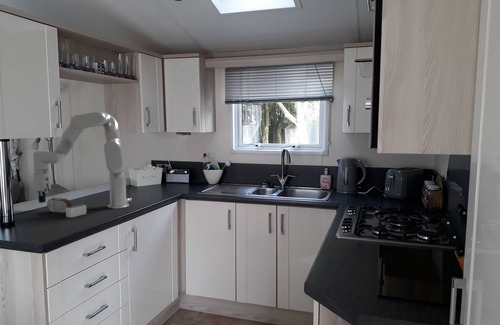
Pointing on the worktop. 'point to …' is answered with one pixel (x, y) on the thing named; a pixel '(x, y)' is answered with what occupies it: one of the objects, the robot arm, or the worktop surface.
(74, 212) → the block
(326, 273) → the worktop surface
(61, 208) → the bread slice
